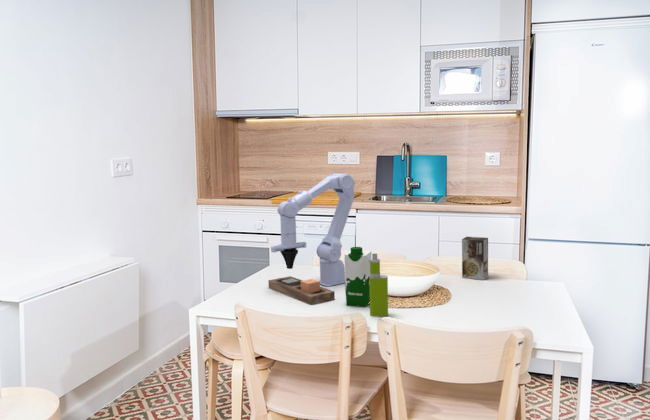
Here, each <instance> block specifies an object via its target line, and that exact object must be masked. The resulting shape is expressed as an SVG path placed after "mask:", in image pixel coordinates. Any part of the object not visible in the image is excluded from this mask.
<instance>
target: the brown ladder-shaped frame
mask: <svg viewBox="0 0 650 420" xmlns="http://www.w3.org/2000/svg"><path fill="white" fill-rule="evenodd" d="M287 279H295V280H298V281H299V285H297V286H289V285H286V284H284V283H281V281H282V280H287ZM301 281H304V280H302V279H299V278H296V277H293V276H285V277H284V276H283V277H278V278H273V279H268V289H271V290H273V291H276V292H277V293H280V294H283V295H286V296H287V297H291V298H293V299H296V300H298V301H301V302H303V303H305V304H308V305H311V306H313V305H318V304H322V303H327V302H331V301H335V294H336V293H335V290H334V291H333V290H331V289H328V288H326V287H322V286H320V291H316V292H312V293H308V292H305V291H302V290H301Z"/></svg>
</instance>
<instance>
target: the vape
mask: <svg viewBox="0 0 650 420" xmlns="http://www.w3.org/2000/svg"><path fill="white" fill-rule="evenodd" d="M380 268H381V259H379V258H378V253H371V259H370V276H369V285H370V303H369V316H371V317H388V316H389V296H388V295H389V290H388V289H389V286H388V285H389V283H388V278H389V277H388V275H386V274H381V269H380Z"/></svg>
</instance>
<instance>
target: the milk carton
mask: <svg viewBox="0 0 650 420" xmlns="http://www.w3.org/2000/svg"><path fill="white" fill-rule="evenodd" d="M370 259H372V250H363V247H361V246H352V247H350V250H349V251H347V252H346V253H344V267H345V283H344V286H345V288H344V289H345V291H344V292H345V302H346V306H351V307H364V308H366V307H367V306H368V305H369V304H370V303H369V302H370V285H369V276H370ZM368 303H369V304H368Z"/></svg>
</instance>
